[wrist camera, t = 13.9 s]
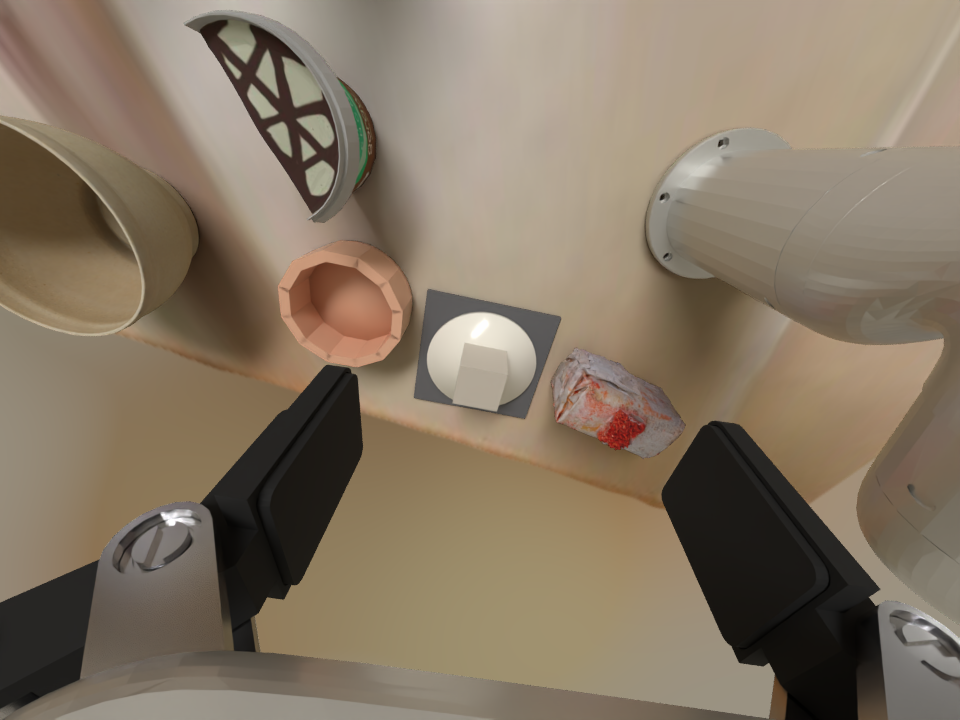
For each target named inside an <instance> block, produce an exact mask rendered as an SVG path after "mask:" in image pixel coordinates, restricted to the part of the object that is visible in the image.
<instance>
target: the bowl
mask: <svg viewBox="0 0 960 720" xmlns="http://www.w3.org/2000/svg"><path fill="white" fill-rule="evenodd" d="M278 293H279V302H280V311H281V317H282V319H283V320H284V322H285V323H286V325H287V326H288V327H289V329H290V330H291V332H292V333H293V335H294V336H295V338H296V339H297V341H298V342H299V344H301V345H302V346H304V347H305V348H307V349H308V350H310V351H311V352H313V353H315V354H316V355H318V356H319V357H321V358H322V359H324V360H325V361H327V362H332V363H337V364H342V365H347V366H353V367H360V366H363V365H367V364H370V363H374V362H377V361H381V360H384V358H385V357H386V356H387V355H388V354H389V353H390V352H391V350H392V349H393V348H394V347H395V346H396V345H397V343H398V342H399V341H400V340H401V338H402V336H403V334H404V332H405V330H406V328H407V326H408V325H409V322H410V315H411V311H412V293H411V289H410V285H409V283H408V280H407V278H406V276H405V274H404V273H403V271H402V270H401V268H400V267H399V266H398V265H397V264H396V262H395V261H394V260H393V259H391V258H390V257H389V256H388V255H387V254H385V253H384V252H383V251H381V250H379V249H377V248H376V247H374V246H371V245H369V244H366V243H362V242H358V241H343V240H340V241H337V242H334V243H330V244H328V245H326V246H323V247H321V248H318V249H315V250H313V251H311V252H309V253H307V254H305V255H303V256H301V257H300V258H298V259H296V260H294V261H292V263H291V264H290V266H289V268H288V270H287V271H286V273H285V275H284V276H283V278H282V280H281V282H280V283H279V285H278Z"/></svg>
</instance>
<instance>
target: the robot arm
mask: <svg viewBox="0 0 960 720" xmlns="http://www.w3.org/2000/svg"><path fill="white" fill-rule="evenodd" d="M719 141H720V145H719V146H718V142H719ZM662 194H663V198H662V199H661V200H659V199H660V196H661V195H662ZM645 227H646V238H647V242H648V245H649V248H650V250H651V252H652V254H653V256H654V257H655V259H656V260H657V261H658V262H659V263H660V264H661V265H662V266H663V267H665V268H666V269H668V270H669V271H670V272H672V273H675V274H677V275H679V276H682V277H686V278H691V279H707V278H714V277H717V278H719V279H721V280H722V281H724V282H726V283H728V284H730V285H731V286H733V287H735V288H737V289H739V290H740V291H742V292H744V293H746V294H747V295H749V296H751V297H753V298H755V299H756V300H758V301H760V302H762V303H763V304H765V305H767V306H769V307H771V308H772V309H774V310H776V311H778V312H779V313H781V314H783V315H785V316H787V317H788V318H790V319H792V320H794V321H795V322H798V323H800V324H802V325H803V326H805V327H807V328H809V329H811V330H813V331H815V332H817V333H819V334H821V335H824V336H826V337H829V338H832V339H835V340H839V341H843V342H849V343H855V344H863V345H893V344H906V343H915V342H923V341H930V340H936V339H942V338H944V347H943V350H942V354H941V356H940V358H939V360H938V362H937V363H936V365H935V367H934V368H933V370H932V372H931V374H930V375H929V377H928V378H927V380H926V381H925V383H924V384H923V389H922V392H921V393H920V395H919V396H918V398H917V399H916V401H915V402H914V404H913V405H912V406H911V408H910V409H909V411H908V412H907V414H906V415H905V417H904V418H903V420H902V421H901V422H900V424H899V425H898V427H897V428H896V430H895V431H894V433H893V434H892V436H891V437H890V439H889V440H888V441H887V443H886V444H885V446H884V447H883V449H882V450H881V452H880V453H879V455H878V456H877V457H876V459H875V461H874V462H873V464H872V465H871V467H870V469H869V470H868V472H867V474H866V476H865V478H864V479H863V481H862V484H861V487H860V489H859V492H858V499H857V507H856V508H857V516H858V521H859V525H860V528H861V530H862V532H863V534H864V536H865V538H866V540H867V542H868V544H869V545H870V547H871V548H872V550H873V551H874V553H875V554H876V555H877V556H878V558H879V559H880V560H881V561H882V562H883V563H884V565H885V566H886V567H887V568H888V569H889V570H890V571H891V572H892V573H893V574H894V575H895V576H896V577H897V578H898V579H899V580H901V581H902V582H903V583H904V584H905V585H906V586H907V587H908V588H910V589H911V590H912V591H913V592H914V593H915V594H917V595H918V596H919V597H920V598H922V599H923V600H924V601H925V602H927V603H928V604H930V605H931V606H933V607H934V608H935V609H937V610H938V611H939V612H941V613H942V614H944V615H945V616H947V617H948V618H949V619H951V620H952V621H954V622H955V623H957V624H958V625H960V146H933V147H880V148H823V149H792V148H791V146H790V145H789V143H788V142H787V141H785V140H784V139H783V138H782V137H780V136H779V135H778V134H775V133H773V132H770V131H768V130H766V129H759V128H737V129H732V130H727V131H722V132H719V133H717V134H714V135H712V136H709V137H707V138H705V139H703V140H702V141H700V142H698V143H697V144H695V145H694V146H692V147H691V148H689V149H688V150H687V151H686V152H685V153H683V154H682V155H681V156H680V157H679V158H678V159H677V160H676V161H675V162H674V163H673V164H672V165H671V166H670V168H669V169H668V170H667V171H666V172H665V174H664V175H663V177H662V178H661V180H660V181H659V183H658V185H657V187H656V189H655V191H654V193H653V195H652V197H651V200H650V203H649V207H648V210H647V216H646V225H645ZM666 253H667V254H666ZM665 254H666V256H665V257H663V256H664V255H665ZM362 442H363V441H362V428H361V416H360V402H359V389H358V378H357V375H356V374H352V373H351V370H350V369H349V368H346V367H340V366H333V365H326V366H325V367H324V368H323V369H322V370H321V371H320V372H319V373H318V375H317V376H316V377H315V378H314V379H313V380H312V382H311V383H310V384H309V385H308V386H307V387H306V389H305V390H304V391H303V392H302V393H301V394H300V396H299V397H298V398H297V399H296V400H295V401H294V403H293V404H292V405H291V406H290V407H289V408H288V410H284V411H282V412H281V413H279V414H278V415H277V417H275V419H274V420H273V421H272V422H271V423H270V424H269V425H268V427H267V428H266V429H265V430H264V431H263V432H262V434H261V435H260V436H259V437H258V438H257V439H256V440H255V441H254V443H253V444H252V445H251V446H250V447H249V448H248V449H247V451H246V452H245V453H244V454H243V455H242V456H241V457H240V459H239V460H238V461H237V462H236V463H235V464H234V465H233V467H232V468H231V469H230V470H229V471H228V472H227V473H226V475H225V476H224V477H223V478H222V479H221V480H220V481H219V482H218V484H217V485H216V486H215V487H214V488H213V489H212V491H211V492H210V493H209V494H208V495H207V496H206V497H205V498H204V500H203V501H202V502H201V503H200V504H198V503H194V502H175V503H172V504H168V505H164V506H160V507H158V508H156V509H153V510H151V511H149V512H146V513H144V514H142V515H141V516H139V517H138V518H136V519H135V520H133V521H131V522H130V523H128V524H127V525H126V526H125V527H124V528H122V529H121V530H120V531H119V532H118V533H117V534H116V535H114V537H113V538H112V539H111V541H110V542H109V543H108V544H107V546H106V547H105V548H104V550H103V552H102V555H101V558H100V559H99V560H97V561H95V562H92V563H90V564H88V565H85V566H83V567H81V568H79V569H76V570H74V571H72V572H70V573H67V574H65V575H63V576H60V577H58V578H56V579H53V580H51V581H49V582H47V583H44V584H42V585H40V586H37V587H35V588H33V589H30V590H28V591H26V592H24V593H21V594H19V595H17V596H14V597H12V598H10V599H7V600H5V601H3V602H1V603H0V720H960V638H959V637H957V636H956V635H955V634H954V633H952V632H951V631H950V630H949V629H948V628H946V627H945V626H944V625H942V624H941V623H939V622H938V621H936V620H935V619H933V618H932V617H930V616H929V615H927V614H926V613H924V612H922V611H920V610H918V609H916V608H914V607H912V606H910V605H907V604H904V603H901V602H898V601H884V602H882V603H881V604H879V605H878V606H875V605H874V603H873V602H872V601H871V600H870V598H869V597H870V596H871V595H873V594H874V593H876V592H877V591H879V590H880V588H879V587H878V586H877V585H876V583H875V582H874V581H873V580H872V579H871V578H870V576H869V575H868V574H867V573H866V572H865V571H864V570H863V568H862V567H861V566H860V565H859V564H858V563H857V561H856V560H855V559H854V558H853V557H852V555H851V554H850V553H849V552H848V551H847V549H846V548H845V547H844V546H843V545H842V544H841V542H840V541H839V540H838V539H837V538H836V537H835V535H834V534H833V533H832V532H831V531H830V530H829V529H828V527H827V526H826V525H825V524H824V523H823V521H822V520H821V519H820V518H819V517H818V516H817V514H816V513H815V512H814V511H813V510H812V509H811V507H810V506H809V505H808V504H807V503H806V502H805V500H804V499H803V498H802V497H801V496H800V494H799V493H798V492H797V491H796V490H795V489H794V487H793V486H792V485H791V484H790V483H789V482H788V480H787V479H786V478H785V477H784V476H783V475H782V473H781V472H780V471H779V470H778V469H777V468H776V466H775V465H774V464H773V463H772V462H771V461H770V459H769V458H768V457H767V456H766V455H765V454H764V452H763V451H762V450H761V449H760V448H759V447H758V445H757V444H756V443H755V442H754V441H753V439H752V438H751V437H750V436H749V435H748V434H747V432H746V431H745V430H744V429H743V428H742V427H741V426H740V425H738V424H734V423H728V422H721V421H712V422H710V423H708V425H705V426H703V427H702V428H701V429H700V431H699V432H698V434H697V435H696V437H695V439H694V440H693V442H692V443H691V445H690V447H689V448H688V450H687V451H686V453H685V454H684V456H683V458H682V459H681V461H680V462H679V464H678V465H677V467H676V469H675V470H674V472H673V473H672V475H671V477H670V478H669V480H668V481H667V483H666V484H665V486H664V488H663V490H662V501H663V504H664V506H665V508H666V511H667V513H668V515H669V517H670V519H671V522H672V524H673V526H674V529H675V531H676V533H677V535H678V538H679V540H680V542H681V544H682V546H683V548H684V551H685V553H686V556H687V557H688V560H689V562H690V564H691V567H692V569H693V571H694V574H695V576H696V578H697V580H698V583H699V585H700V587H701V589H702V592H703V594H704V596H705V598H706V600H707V603H708V605H709V607H710V610H711V612H712V614H713V616H714V618H715V621H716V623H717V625H718V628H719V630H720V632H721V634H722V636H723V638H724V639H725V641H726V642H727V643H728V644H729V645H731V646H732V648H733V650H734V653H735V655H736V657H737V659H738V661H739V663H743V664H750V665H757V666H765V665H766V664H768V663H770V665H771V667H772V669H773V671H774V673H775V677H774V685H773V692H772V700H771V708H770V715H769V719H766V718H760V717H753V716H746V715H739V714H732V713H725V712H718V711H711V710H704V709H697V708H690V707H682V706H676V705H668V704H661V703H654V702H647V701H640V700H633V699H626V698H618V697H611V696H604V695H597V694H589V693H582V692H575V691H568V690H560V689H553V688H546V687H539V686H531V685H524V684H517V683H509V682H502V681H494V680H486V679H479V678H472V677H464V676H456V675H448V674H442V673H434V672H427V671H419V670H412V669H404V668H397V667H389V666H381V665H373V664H366V663H357V662H349V661H348V662H347V661H340V660H330V659H321V658H313V657H303V656H294V655H286V654H276V653H262V652H260V645H259V639H258V633H257V627H256V621H255V615H256V614H258V613H259V611H260V609H261V608H262V606H263V604H264V602H265V600H266V598H267V597H269V598H276V599H285V597H286V595H287V593H288V591H289V589H290V587H291V585H297V584H299V583H300V581H301V580H302V578H303V576H304V574H305V572H306V570H307V568H308V566H309V564H310V562H311V560H312V558H313V555H314V553H315V551H316V549H317V547H318V545H319V543H320V541H321V539H322V537H323V535H324V533H325V531H326V529H327V526H328V524H329V522H330V520H331V518H332V516H333V514H334V512H335V510H336V508H337V506H338V504H339V501H340V499H341V497H342V495H343V493H344V491H345V489H346V486H347V485H348V483H349V481H350V479H351V477H352V475H353V472H354V470H355V468H356V466H357V464H358V462H359V460H360V458H361V455H362V450H363V443H362Z"/></svg>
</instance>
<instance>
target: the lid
mask: <svg viewBox="0 0 960 720" xmlns="http://www.w3.org/2000/svg"><path fill="white" fill-rule="evenodd" d="M427 367H428V371H429V374H430V376H431V378H432V380H433V382H434V384H435V385H436V386H437V387H438V389H439V390H440V391H441V392H442V393H444V394H445V395H446V396H447V397H449V398H451V399H452V400H453V403H454V404H459V405H464V406H470V407H475V408H480V409H485V410H491V411H496V412H497V410H498V406H499V405H502V404H505V403H507V402H510V401H511V400H513V399H515V398H516V397H518V396H519V395H520V394H522V393H523V392H524V391H525V390H526V388H527V387H528V386H529V384H530V383H531V381H532V379H533V377H534V374H535V370H536V354H535V349H534V346H533V343H532V341H531V339H530V337H529V336H528V334H527V333H526V332H525V330H524V329H523V328H522V327H521V326H520V325H518V324H517V323H516V322H514V321H513V320H511V319H509V318H507V317H505V316H503V315H500V314H496V313H492V312H480V311H478V312H469V313H465V314H462V315H459V316H456V317H454V318H452V319H450V320H449V321H447V322H446V323H445V324H443V325H442V326H441V327H440V328H439V329H438V331H437V332H436V333H435V335H434V337H433V338H432V340H431V343H430V346H429V349H428V353H427Z"/></svg>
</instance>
